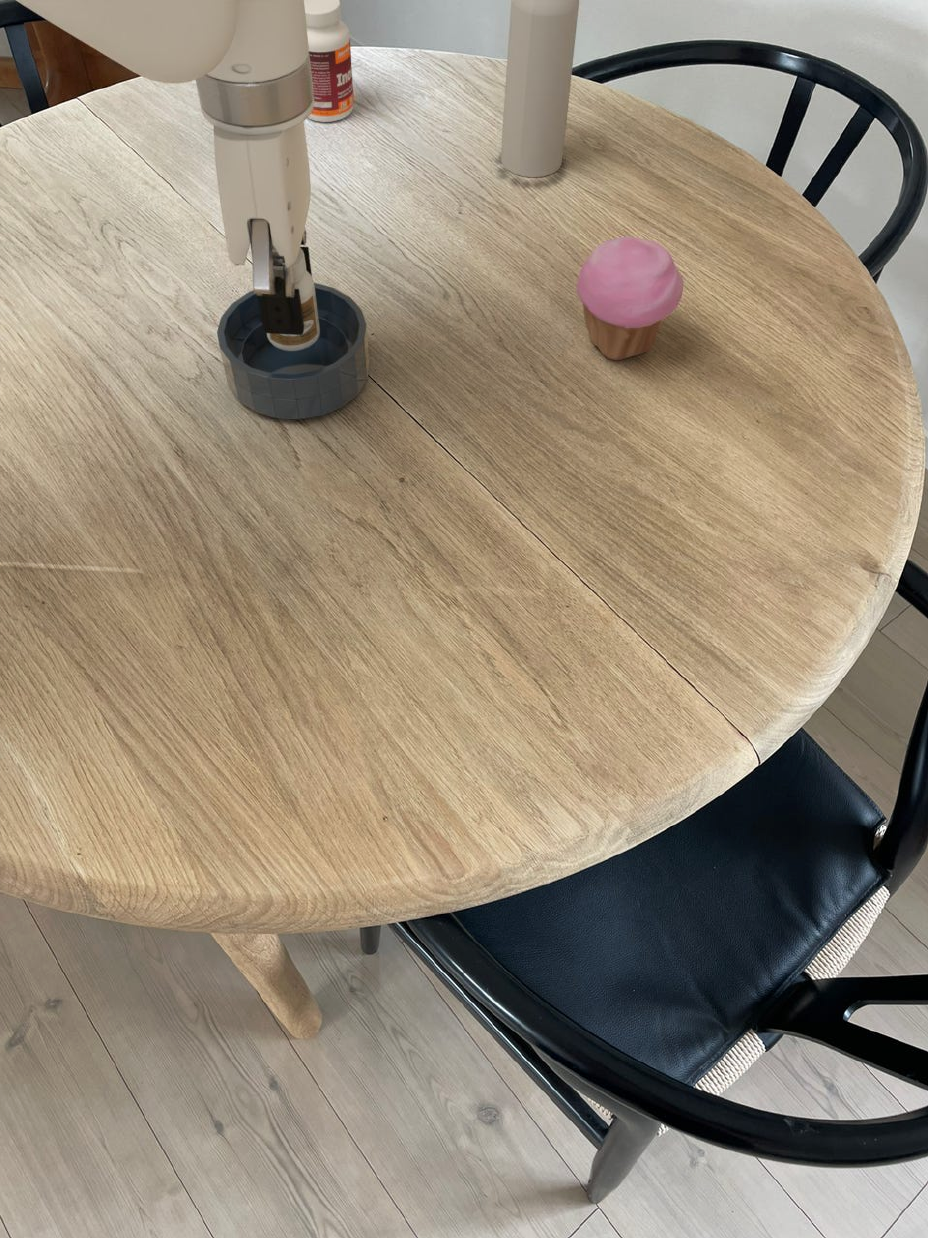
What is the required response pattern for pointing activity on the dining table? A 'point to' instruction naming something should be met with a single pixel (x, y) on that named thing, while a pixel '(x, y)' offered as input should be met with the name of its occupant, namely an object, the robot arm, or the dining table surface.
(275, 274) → the pill bottle
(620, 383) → the dining table surface
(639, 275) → the cupcake
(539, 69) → the bottle
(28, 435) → the dining table surface
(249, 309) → the bowl
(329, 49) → the pill bottle
